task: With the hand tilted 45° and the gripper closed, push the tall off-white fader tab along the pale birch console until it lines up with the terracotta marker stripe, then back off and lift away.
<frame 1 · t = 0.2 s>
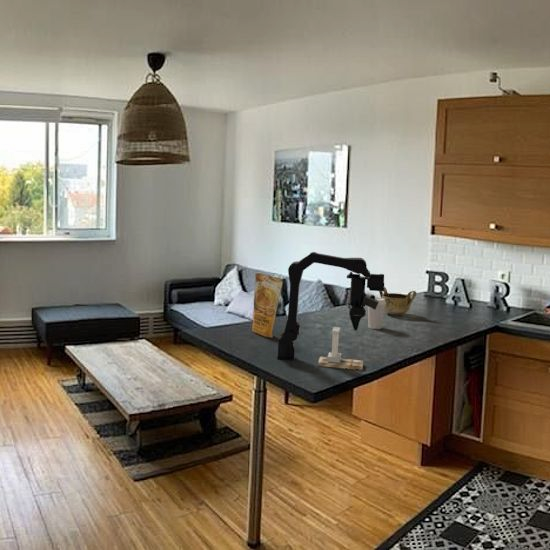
hand: (355, 327, 247), 15 cm above the breakfast bar, tool pointing down, fingers open, 9 cm apart
basket with handles: (395, 314, 347), on the breakfast bar
coffee cup: (374, 328, 313), on the breakfast bar
fader console: (340, 365, 245), on the breakfast bar
fader tab: (335, 344, 244), point 8 cm above the breakfast bar, slide at 0.0 cm
pancake mix bag: (263, 334, 289), on the breakfast bar
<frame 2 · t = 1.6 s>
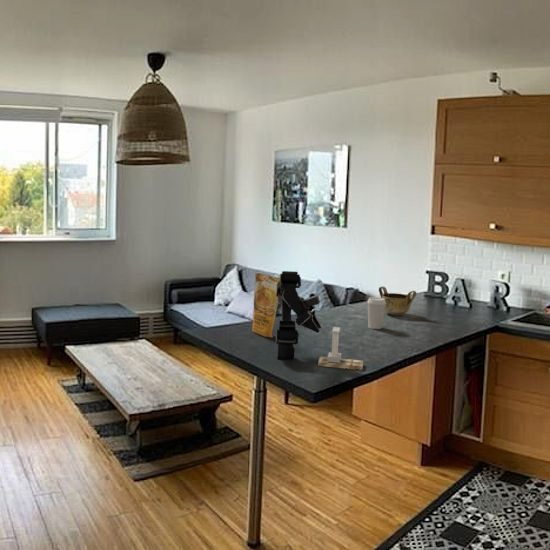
hand: (319, 330, 245), 14 cm above the breakfast bar, tool tilted 45°, fingers open, 6 cm apart
nothing on the breakfast bar moved.
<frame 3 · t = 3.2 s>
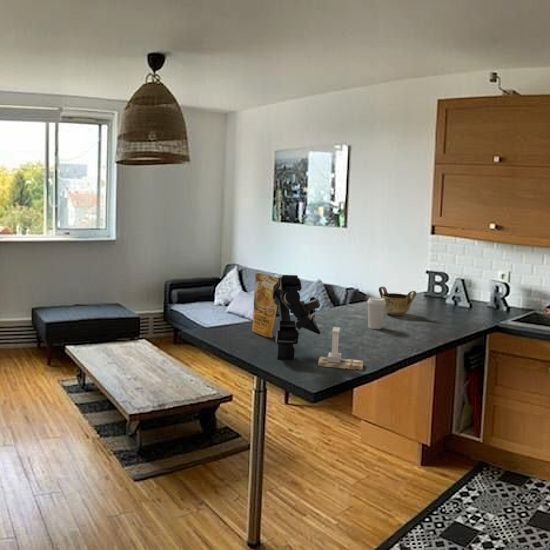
hand: (319, 333, 245), 12 cm above the breakfast bar, tool tilted 45°, fingers closed
nothing on the breakfast bar moved.
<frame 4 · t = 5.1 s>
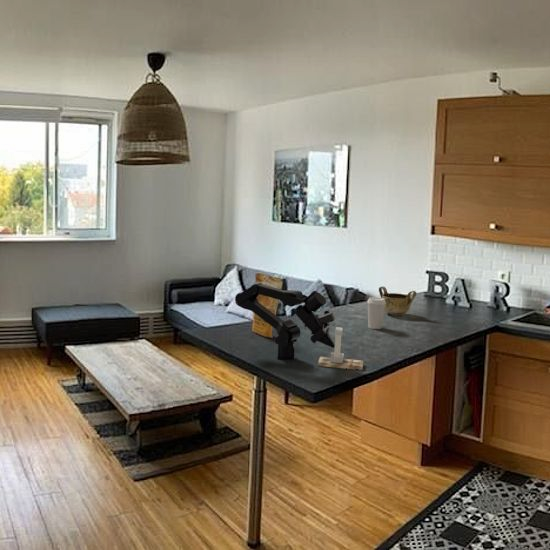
hand: (334, 347, 244), 7 cm above the breakfast bar, tool tilted 45°, fingers closed, pressing on fader tab
fader tab: (337, 344, 244), point 8 cm above the breakfast bar, slide at 1.0 cm, touching gripper
everything else where it was.
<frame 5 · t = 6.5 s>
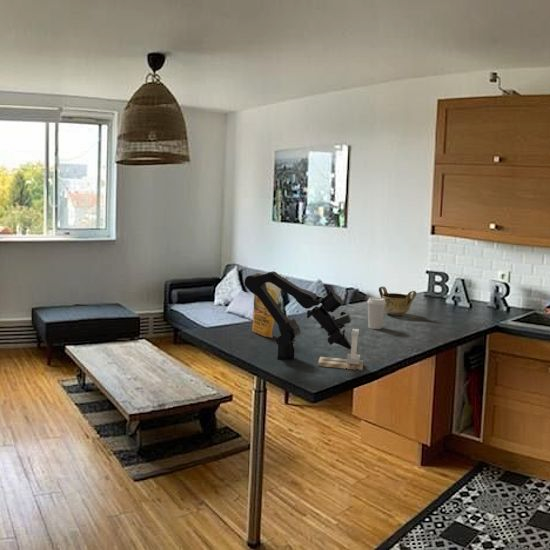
hand: (350, 348, 243), 7 cm above the breakfast bar, tool tilted 45°, fingers closed, pressing on fader tab
fader tab: (354, 346, 243), point 8 cm above the breakfast bar, slide at 7.6 cm, touching gripper
everything else where it was.
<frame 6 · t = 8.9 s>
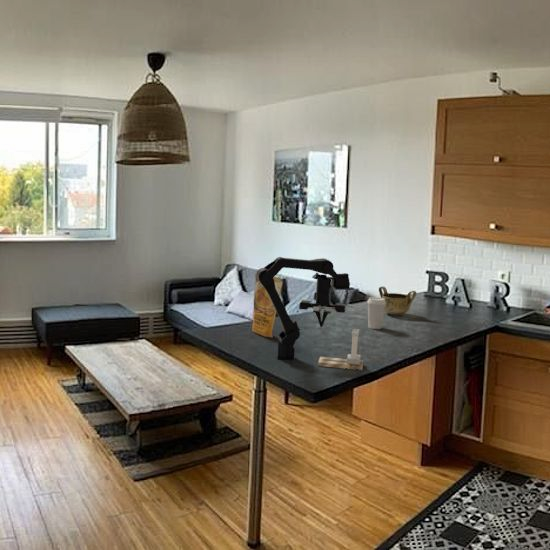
hand: (321, 326, 253), 13 cm above the breakfast bar, tool pointing down, fingers closed
fader tab: (354, 346, 243), point 8 cm above the breakfast bar, slide at 7.7 cm
everything else where it was.
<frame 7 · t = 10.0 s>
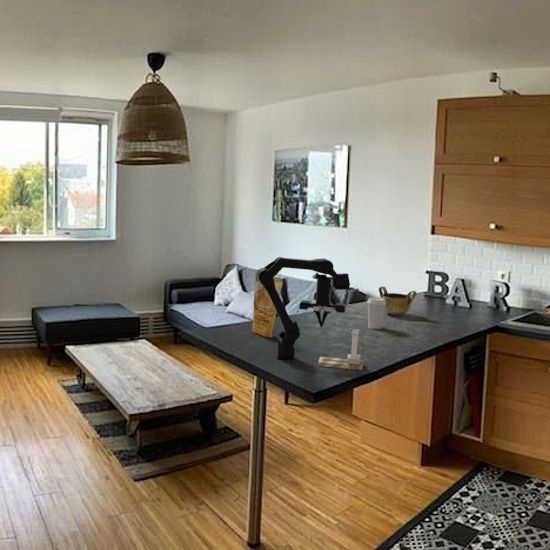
hand: (321, 326, 253), 13 cm above the breakfast bar, tool pointing down, fingers closed
nothing on the breakfast bar moved.
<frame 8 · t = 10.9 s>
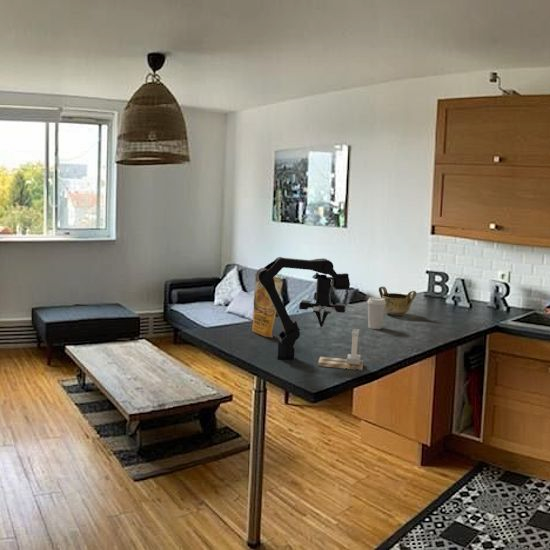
hand: (321, 326, 253), 13 cm above the breakfast bar, tool pointing down, fingers closed
nothing on the breakfast bar moved.
at the end: fader tab slide at 7.7 cm; the gripper is holding nothing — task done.
